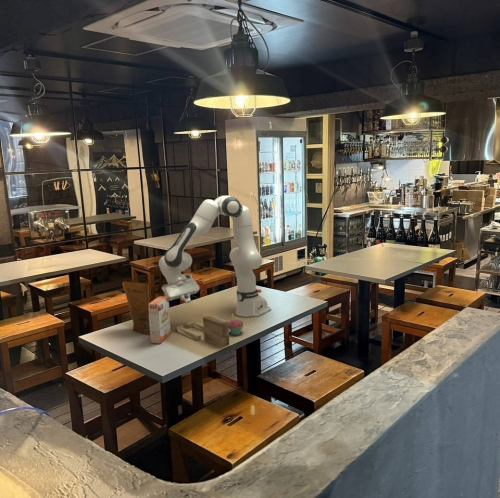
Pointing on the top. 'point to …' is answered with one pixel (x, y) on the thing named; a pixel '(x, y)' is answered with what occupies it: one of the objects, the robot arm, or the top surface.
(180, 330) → the chute
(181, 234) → the robot arm
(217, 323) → the block
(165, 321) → the cracker box
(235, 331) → the cupcake
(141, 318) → the pancake mix bag
